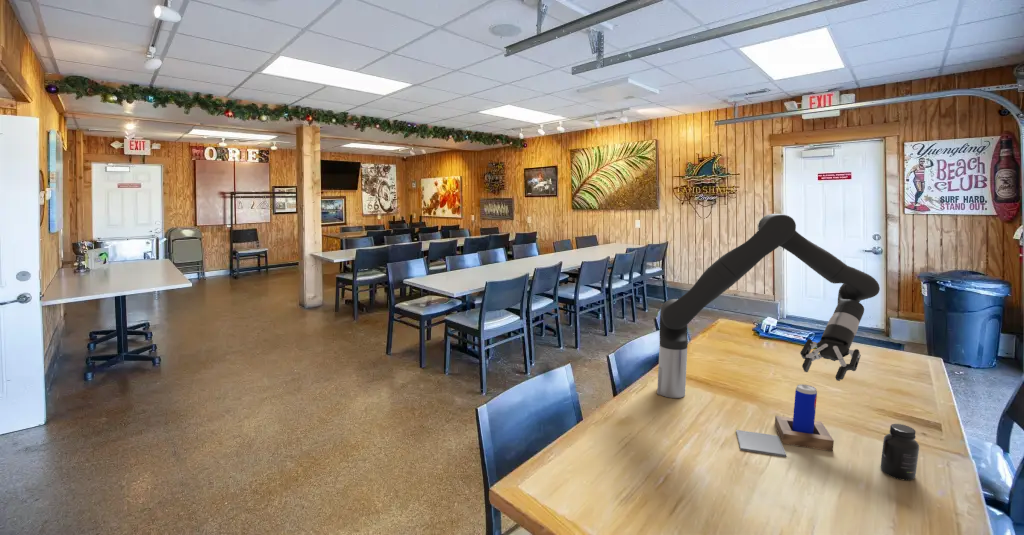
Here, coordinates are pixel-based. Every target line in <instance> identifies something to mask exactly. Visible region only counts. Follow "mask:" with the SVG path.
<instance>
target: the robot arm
mask: <svg viewBox="0 0 1024 535" xmlns="http://www.w3.org/2000/svg"><path fill="white" fill-rule="evenodd" d="M757 228H758V230H757V231H756V232H755V233H754V234H753V235H752V236H751V237H750V238H749V239H748V240H746V241H745V242H743V243H742V244H740V245H737V247H735V248H733V249H731V250H729V251H728V252H726V253H724V254H723V255H722V256H721V257H719V258H718V259H717V260H715V261H714V262H713V263H712V264H711V265H709V267H708V268H707V269H706V270H704V271H703V273H702V274H701V275H700V277H699V278H698V279H697V280H696V282H695V283H694V285H693V286H692V287H691V288H690V289H689V290H688V291H687V292H686V293H685V294H684V295H682V296H680V297H679V298H677V299H676V298H673V299H672V298H670V299H668V300H666V301H665V302H664V303H663V304H662V305H661V306H660V307H661V308H660V312H659V351H658V352H659V354H658V368H657V369H658V370H657V393H656V394H657V395H659V396H663V397H666V398H671V399H680V398H683V397H686V385H687V384H686V382H687V362H688V346H689V345H688V343H689V342H688V340H689V339H688V325H689V324H690V323H691V321H692V320H694V318H695V317H696V316H697V315H698V314H699V313H700V312H701V311H702V310H704V308H705V307H706V306H708V305H709V304H710V303H711V302H713V301H714V300H715V299H717V298H718V297H719V296H721V295H722V294H724V292H726V291H727V290H728V289H730V288H731V287H732V286H733V285H735V284H736V283H737V282H738V281H740V280H741V279H742V278H743V277H744V276H745V275H747V273H748V272H749V271H751V270H752V269H753V268H754V267H755V266H756V265H757V264H758V263H759V262H760V261H761V260H762V259H764V258H765V257H767V256H768V255H770V254H771V253H772V252H773V251H775V250H776V249H777V248H779V247H781V248H782V249H784V250H786V251H787V252H789V253H790V254H791V255H794V256H795V257H796V258H797V259H799V260H800V261H802V262H803V263H804V264H806V265H807V266H808V267H809V268H811V269H812V270H813V271H814V272H815V273H817V274H818V275H819V276H821V277H822V278H824V279H825V280H826V281H827V282H829V283H831V284H841V286H840V287H839V290H838V294H837V305H836V307H835V309H834V312H833V314H832V316H831V317H830V318H829V320H828V322H827V324H826V326H825V329H824V331H823V333H822V336H821V337H820V340H819V341H818V342H816V341H813V340H812V338H811V339H810V338H809V339H807V340H806V342H805V344H804V346H803V347H802V348H801V350H800V353H799V354H800V355H801V357H802V359H804V361H803V363H802V365H801V367H802V369H803V372H804V373H809V370H810V368H811V365H812V364H813V363H812V362H814V361H816V360H817V361H818V360H820V359H825V360H830V361H833V362H836V361H838V362H839V364H840V365H839V367H838V369H837V372H836V375H835V376H834V378H835V380H836V381H837V382H838V381H839V382H840V381H841V380H844V378H845V376H846V373H847V372H848V371H851V372H852V371H853V372H856V371H857V368H858V365H859V363H860V362H859V361H860V359H861V352H860V350H859V349H858V348H856V349H854V350H853V349H851V346H852V344H853V341H854V339H855V338H856V337H855V336H856V335H857V333H858V330H859V327H860V326H859V325H860V323H861V320H862V318H863V316H864V314H865V313H864V312H865V308H864V305H863V304H862V303H861V302H862V301H863V300H868V299H871V298H874V297H876V296H877V295H878V294H879V293H880V291H881V290H880V285H879V283H878V281H877V280H876V279H875V277H873V276H872V275H870V274H868V273H866V272H864V271H862V270H860V269H857V268H855V267H852V266H849V265H847V264H846V263H845V262H844V261H842V260H841V259H839V258H838V257H836V256H835V255H833V254H832V253H830V252H829V251H827V250H825V248H822V247H821V246H819V245H817V244H815V243H813V242H812V241H811V240H809V239H807V238H806V237H805V236H803V235H801V234H800V233H799V232H798V231H797V230H796V229H797V224H796V221H795V219H793V217H791V216H790V215H787V214H785V213H784V214H783V213H769V214H766V215H764V216H763V217H762V218H761V219H760V220H759V222H758V225H757ZM814 348H816V349H814ZM813 349H814V350H813ZM848 355H849V356H850V357H851V359H850V361H849V363H846V360H845V359H844V358H845V357H847V356H848Z"/></svg>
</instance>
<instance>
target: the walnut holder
mask: <svg viewBox="0 0 1024 535" xmlns="http://www.w3.org/2000/svg"><path fill="white" fill-rule="evenodd" d="M774 426H775V429H776V432H777V434H778V436H779V438H780V441H781V443H782V445H788V446H795V447H803V448H809V449H815V450H823V451H830V452H834V444H835V443H834V442H835V440H834V439H833V437H832V435H831V434H830V432H829V431H828V429H827V428H826V426H825V425H824V423H823V421H819V420H815V421H814V432H813V434H809V433H802V432H795V431H792V426H793V417H789V416H783V415H775V418H774Z"/></svg>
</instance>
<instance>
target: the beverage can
mask: <svg viewBox="0 0 1024 535" xmlns="http://www.w3.org/2000/svg"><path fill="white" fill-rule="evenodd" d="M817 399H818V391H817V388H816V387H815V386H812V385H809V384H800V383H799V384H797V385H796V388H795V392H794V404H793V414H792V416H793V417H792V418H793V426H792V431H795V432H802V433H809V434H813V432H814V421H816V420H815V418H816V408H817Z"/></svg>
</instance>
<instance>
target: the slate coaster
mask: <svg viewBox="0 0 1024 535" xmlns="http://www.w3.org/2000/svg"><path fill="white" fill-rule="evenodd" d="M735 433H736V436H737V441H738V445H739V450H740V451H744V452H745V451H746V452H752V453H757V454H765V455H771V456H776V457H777V456H778V457H782V458H783V457H785V458H787V453H786V451H785V448H784V444H783V443H782V441H781V439H780V436H779V435H776V434H767V433H762V432H756V431H754V432H753V431H748V430H740V429H736V430H735Z"/></svg>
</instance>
